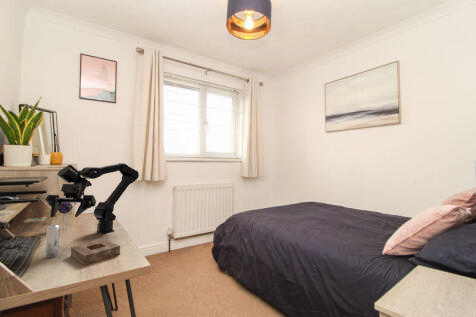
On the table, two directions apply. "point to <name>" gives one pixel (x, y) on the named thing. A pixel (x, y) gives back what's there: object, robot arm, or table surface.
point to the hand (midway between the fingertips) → (63, 216)
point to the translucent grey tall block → (52, 241)
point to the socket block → (95, 251)
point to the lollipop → (65, 209)
